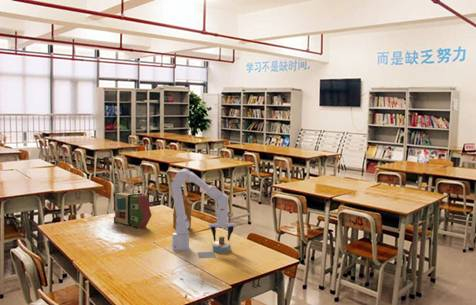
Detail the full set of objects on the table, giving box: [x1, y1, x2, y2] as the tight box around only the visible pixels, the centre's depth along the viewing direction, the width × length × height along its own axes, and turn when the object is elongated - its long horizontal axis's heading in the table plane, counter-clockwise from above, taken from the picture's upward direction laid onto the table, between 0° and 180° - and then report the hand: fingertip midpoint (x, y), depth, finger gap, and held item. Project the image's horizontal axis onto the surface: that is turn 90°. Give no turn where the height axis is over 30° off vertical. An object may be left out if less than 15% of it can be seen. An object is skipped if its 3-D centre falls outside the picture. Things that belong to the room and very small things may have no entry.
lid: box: [212, 236, 231, 248], centre depth 239 cm, size 9×9×4 cm
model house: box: [113, 191, 153, 230], centre depth 283 cm, size 21×9×30 cm
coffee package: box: [172, 194, 192, 229], centre depth 283 cm, size 10×12×22 cm
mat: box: [197, 251, 217, 259], centre depth 231 cm, size 9×9×1 cm
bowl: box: [211, 243, 232, 254], centre depth 240 cm, size 10×10×3 cm
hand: (221, 240), depth 240 cm, fingers open, 7 cm apart
